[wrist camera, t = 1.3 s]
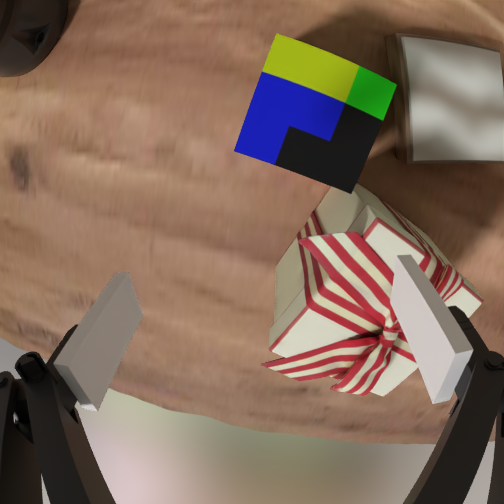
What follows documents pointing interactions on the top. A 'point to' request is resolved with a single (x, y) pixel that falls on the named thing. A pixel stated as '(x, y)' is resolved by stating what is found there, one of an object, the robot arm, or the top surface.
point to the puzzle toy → (314, 113)
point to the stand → (446, 100)
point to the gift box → (353, 294)
